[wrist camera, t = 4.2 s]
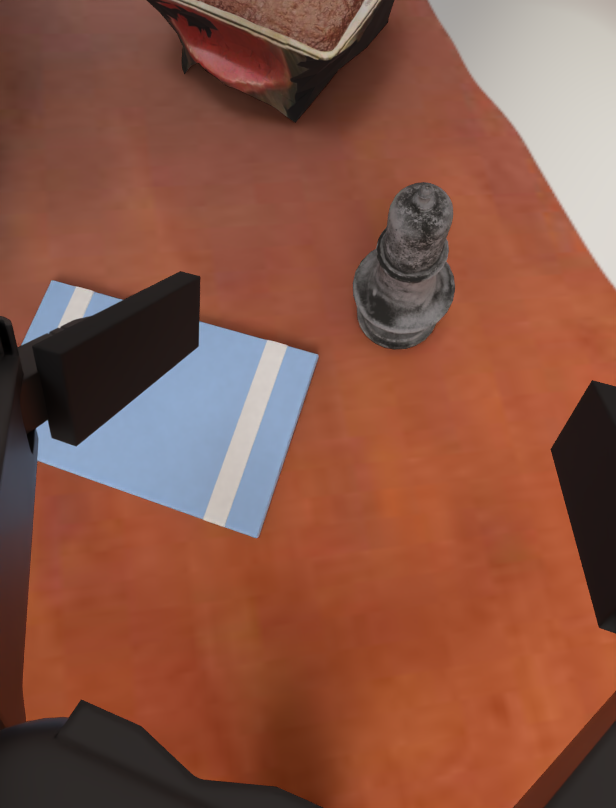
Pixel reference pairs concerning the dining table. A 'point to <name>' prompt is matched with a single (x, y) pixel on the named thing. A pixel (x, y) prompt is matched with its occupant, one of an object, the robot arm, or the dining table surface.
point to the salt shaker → (407, 270)
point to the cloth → (191, 422)
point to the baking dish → (274, 43)
